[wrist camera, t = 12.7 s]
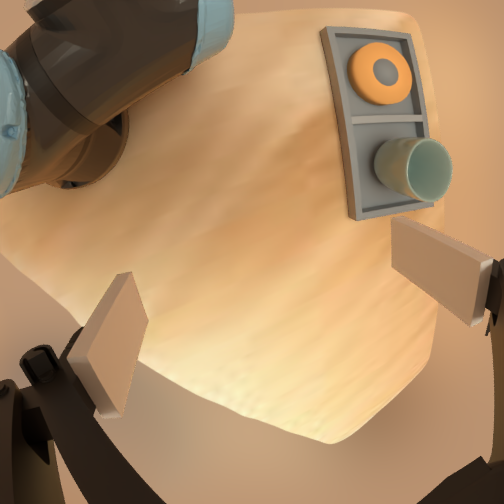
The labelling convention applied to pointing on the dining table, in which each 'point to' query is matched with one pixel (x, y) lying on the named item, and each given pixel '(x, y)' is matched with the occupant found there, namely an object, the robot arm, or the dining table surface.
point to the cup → (414, 167)
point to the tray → (372, 121)
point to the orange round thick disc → (379, 74)
